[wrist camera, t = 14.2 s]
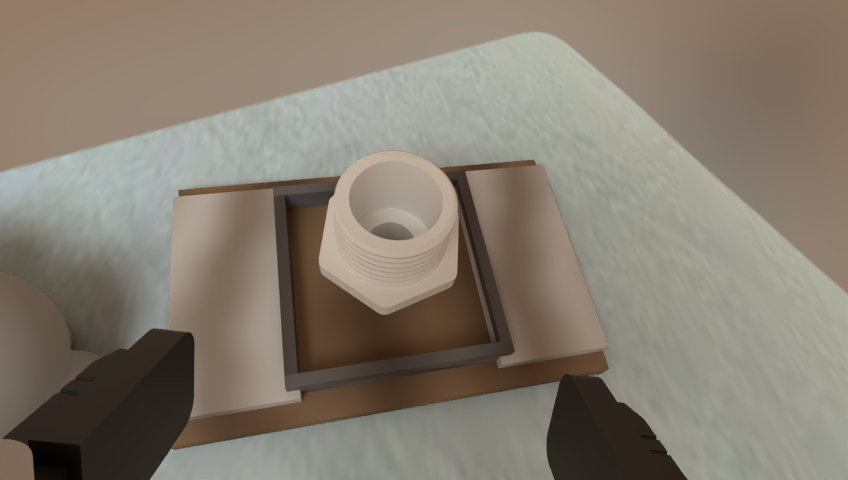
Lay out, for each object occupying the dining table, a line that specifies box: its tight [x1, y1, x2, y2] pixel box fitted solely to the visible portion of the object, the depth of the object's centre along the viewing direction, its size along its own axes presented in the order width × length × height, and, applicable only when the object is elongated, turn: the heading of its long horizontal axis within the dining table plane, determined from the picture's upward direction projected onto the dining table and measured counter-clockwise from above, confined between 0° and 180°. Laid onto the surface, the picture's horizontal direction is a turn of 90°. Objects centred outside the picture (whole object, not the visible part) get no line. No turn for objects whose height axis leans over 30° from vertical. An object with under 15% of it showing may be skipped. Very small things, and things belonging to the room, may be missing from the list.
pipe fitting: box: [319, 151, 459, 315], centre depth 24 cm, size 6×7×8 cm
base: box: [167, 160, 609, 450], centre depth 27 cm, size 22×14×2 cm, turn 101°
